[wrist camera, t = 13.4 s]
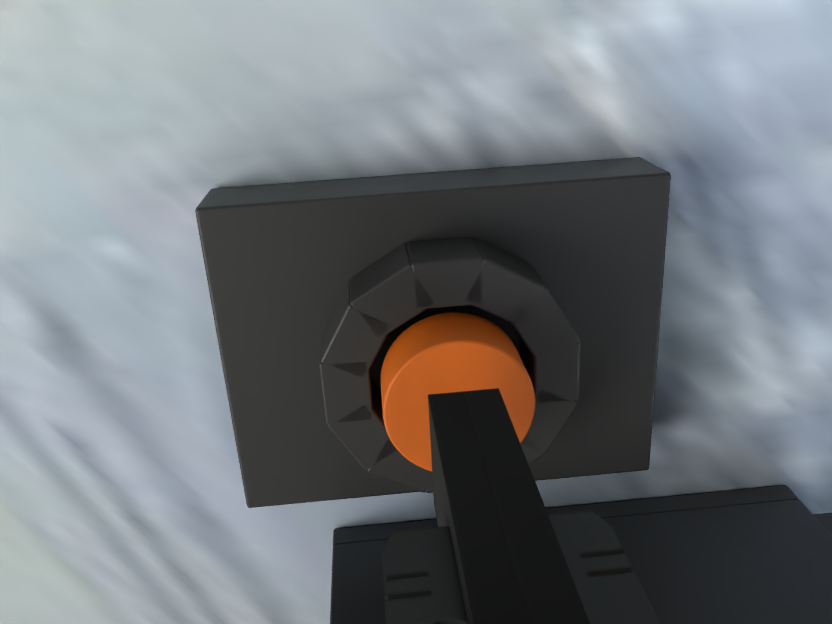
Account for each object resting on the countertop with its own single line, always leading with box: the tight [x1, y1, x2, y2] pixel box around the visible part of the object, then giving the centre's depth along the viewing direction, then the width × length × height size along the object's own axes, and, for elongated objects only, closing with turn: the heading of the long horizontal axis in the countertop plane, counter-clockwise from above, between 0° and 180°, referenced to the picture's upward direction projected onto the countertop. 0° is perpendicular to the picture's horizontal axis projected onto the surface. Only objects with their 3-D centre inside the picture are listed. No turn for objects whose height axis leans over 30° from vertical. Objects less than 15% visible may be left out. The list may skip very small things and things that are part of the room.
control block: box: [195, 157, 671, 508], centre depth 21 cm, size 12×9×4 cm
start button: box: [381, 312, 535, 471], centre depth 18 cm, size 4×4×2 cm
